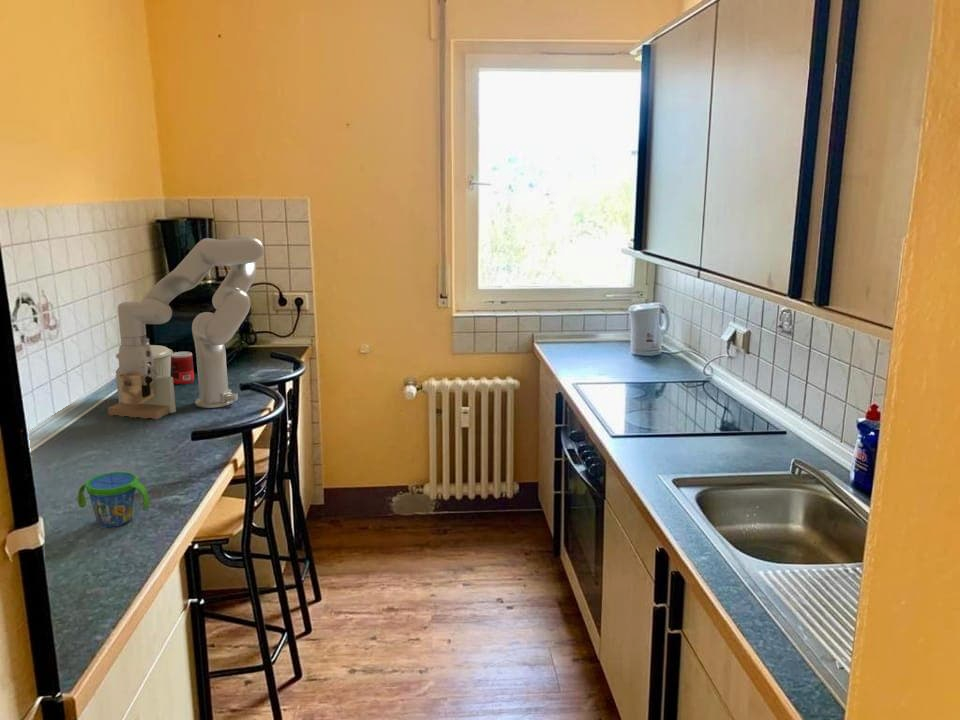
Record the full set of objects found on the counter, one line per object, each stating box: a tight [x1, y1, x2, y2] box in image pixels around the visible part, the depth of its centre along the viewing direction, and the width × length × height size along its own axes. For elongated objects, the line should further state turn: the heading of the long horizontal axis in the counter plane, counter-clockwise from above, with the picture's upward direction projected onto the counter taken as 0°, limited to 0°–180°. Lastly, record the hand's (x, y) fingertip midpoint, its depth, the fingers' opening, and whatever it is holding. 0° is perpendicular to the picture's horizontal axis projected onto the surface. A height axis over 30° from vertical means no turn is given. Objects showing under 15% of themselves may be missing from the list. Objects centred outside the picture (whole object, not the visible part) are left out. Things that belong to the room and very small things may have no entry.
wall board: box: [107, 373, 177, 420], centre depth 250 cm, size 20×8×12 cm, turn 77°
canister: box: [115, 341, 174, 377], centre depth 265 cm, size 18×18×21 cm
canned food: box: [171, 351, 195, 385], centre depth 287 cm, size 8×8×11 cm
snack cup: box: [77, 471, 150, 528], centre depth 174 cm, size 16×10×10 cm
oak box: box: [121, 372, 155, 405], centre depth 246 cm, size 5×10×9 cm, turn 167°
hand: (138, 395), depth 247 cm, fingers closed on oak box, 5 cm apart
